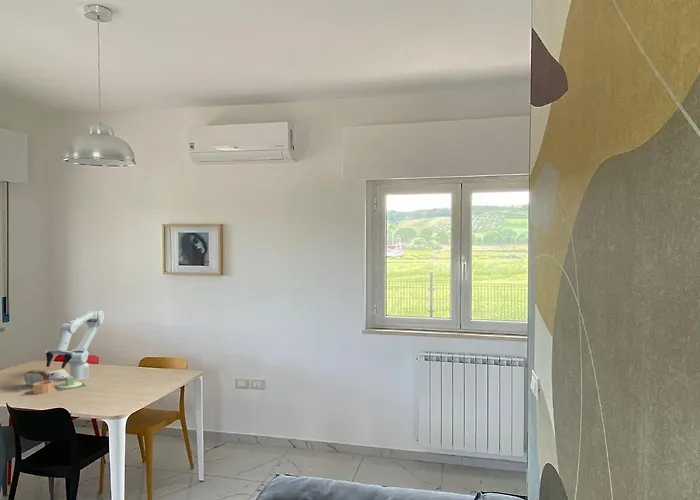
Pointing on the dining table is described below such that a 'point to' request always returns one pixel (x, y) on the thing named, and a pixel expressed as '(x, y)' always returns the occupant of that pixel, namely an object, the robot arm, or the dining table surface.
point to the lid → (69, 383)
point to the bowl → (43, 387)
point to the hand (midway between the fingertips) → (55, 367)
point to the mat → (70, 388)
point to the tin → (35, 377)
